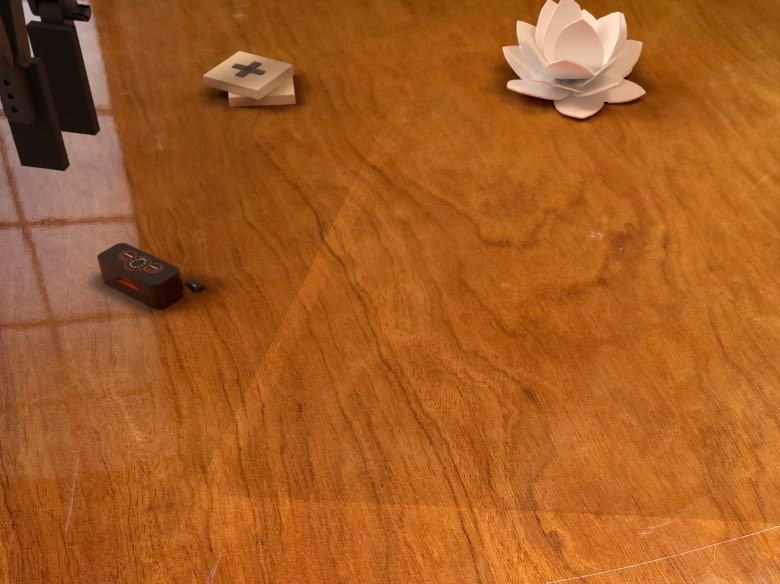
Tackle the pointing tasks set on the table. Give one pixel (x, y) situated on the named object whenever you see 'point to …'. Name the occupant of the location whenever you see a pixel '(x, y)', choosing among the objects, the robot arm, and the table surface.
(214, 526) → the table surface
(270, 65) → the tile pile
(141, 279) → the brown electronic gadget
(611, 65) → the lotus flower
